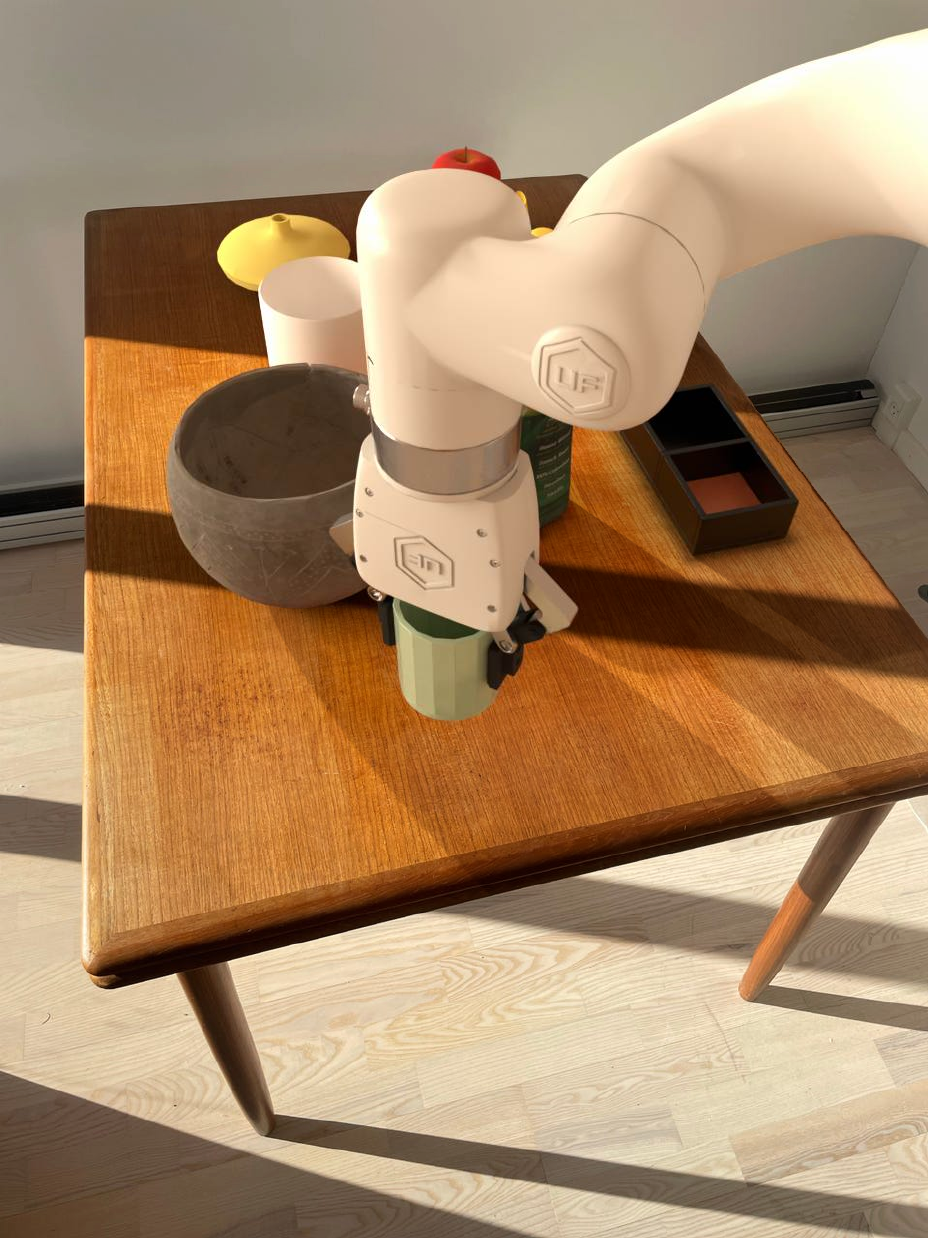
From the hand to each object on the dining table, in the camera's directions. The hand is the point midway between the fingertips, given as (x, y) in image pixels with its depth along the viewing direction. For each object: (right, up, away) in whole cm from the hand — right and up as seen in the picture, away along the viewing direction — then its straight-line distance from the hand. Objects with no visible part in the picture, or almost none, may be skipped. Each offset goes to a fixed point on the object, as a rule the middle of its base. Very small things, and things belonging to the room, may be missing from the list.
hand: (450, 650), depth 63 cm
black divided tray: (+24, +15, +32) cm, 43 cm away
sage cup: (0, -2, +2) cm, 3 cm away
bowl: (-13, +7, +24) cm, 28 cm away
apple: (+1, +51, +61) cm, 80 cm away
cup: (-13, +26, +40) cm, 50 cm away
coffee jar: (+6, +13, +30) cm, 33 cm away
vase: (-21, +44, +55) cm, 74 cm away
